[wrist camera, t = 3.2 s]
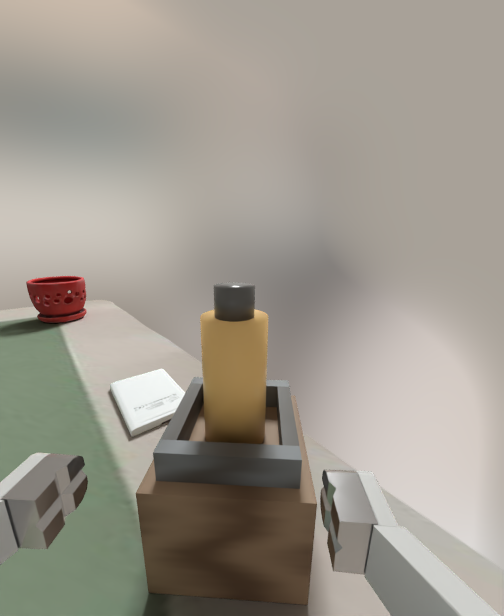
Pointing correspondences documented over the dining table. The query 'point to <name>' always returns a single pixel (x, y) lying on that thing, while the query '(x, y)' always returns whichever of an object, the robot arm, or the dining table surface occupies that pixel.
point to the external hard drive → (147, 400)
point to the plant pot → (58, 298)
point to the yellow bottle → (234, 366)
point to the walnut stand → (230, 507)
